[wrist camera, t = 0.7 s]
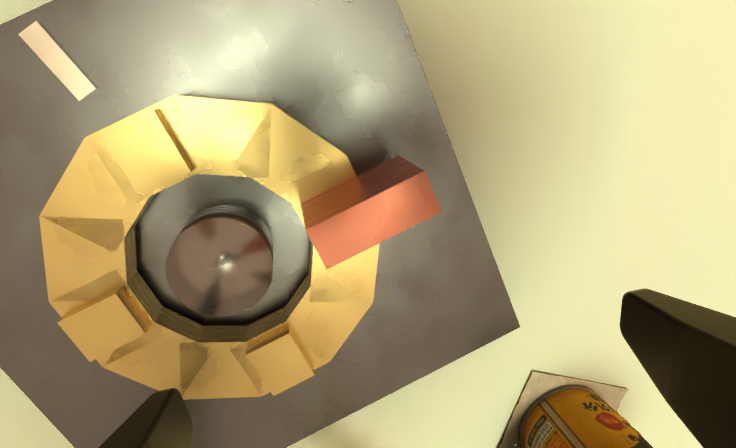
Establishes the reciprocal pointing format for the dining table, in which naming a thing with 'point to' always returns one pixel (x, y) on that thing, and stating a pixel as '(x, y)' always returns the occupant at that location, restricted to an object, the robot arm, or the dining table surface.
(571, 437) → the condiment
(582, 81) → the dining table surface
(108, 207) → the ring nut
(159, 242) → the cap plate
